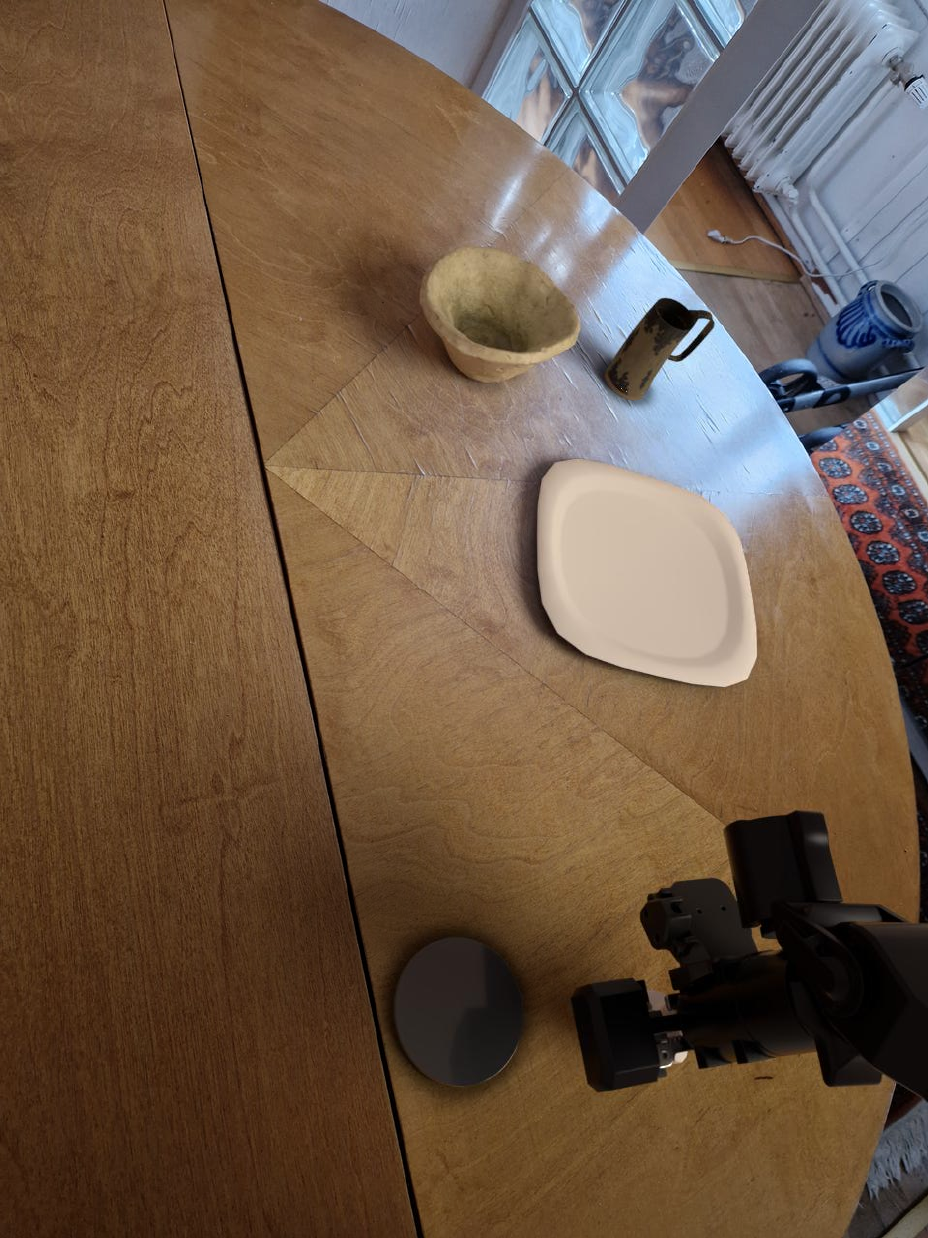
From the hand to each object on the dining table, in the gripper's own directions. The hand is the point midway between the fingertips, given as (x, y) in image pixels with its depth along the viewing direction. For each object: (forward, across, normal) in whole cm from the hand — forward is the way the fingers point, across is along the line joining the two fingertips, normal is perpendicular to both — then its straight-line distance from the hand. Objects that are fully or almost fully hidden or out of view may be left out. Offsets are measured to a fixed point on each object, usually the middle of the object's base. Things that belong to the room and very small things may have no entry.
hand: (642, 1030), depth 67 cm
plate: (+3, -14, -42) cm, 45 cm away
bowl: (+3, 0, -70) cm, 70 cm away
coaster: (+3, +13, -3) cm, 14 cm away
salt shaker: (+3, 0, 0) cm, 3 cm away
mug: (+3, -21, -70) cm, 73 cm away
